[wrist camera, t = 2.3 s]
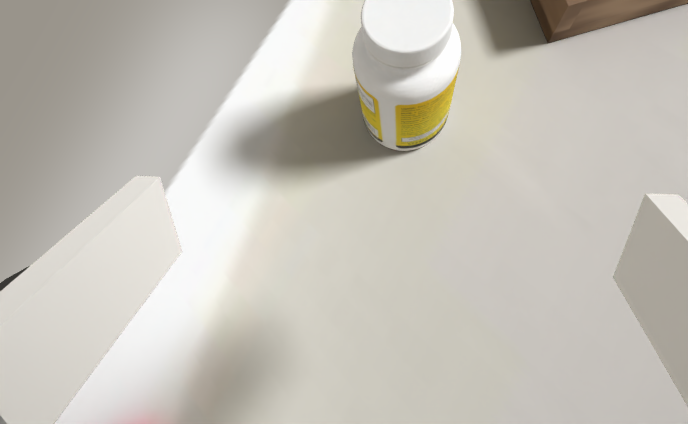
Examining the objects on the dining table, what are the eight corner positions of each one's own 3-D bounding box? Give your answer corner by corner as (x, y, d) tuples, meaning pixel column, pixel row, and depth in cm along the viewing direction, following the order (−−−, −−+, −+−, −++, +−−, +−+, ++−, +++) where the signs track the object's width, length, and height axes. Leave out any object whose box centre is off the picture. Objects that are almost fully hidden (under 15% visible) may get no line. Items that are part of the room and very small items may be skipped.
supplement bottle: (460, 92, 28) (492, -21, 18) (427, 165, 27) (441, 88, 17) (384, 64, 29) (375, -56, 19) (349, 134, 28) (323, 45, 19)
